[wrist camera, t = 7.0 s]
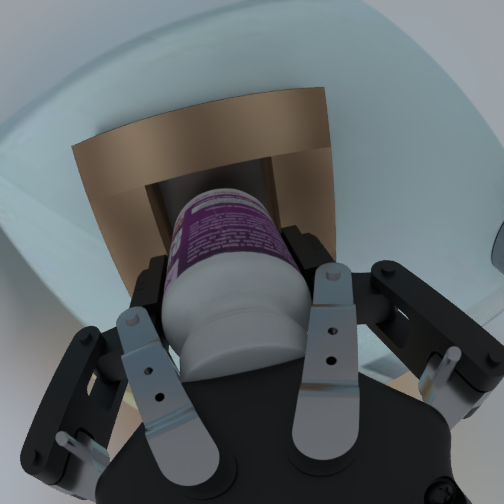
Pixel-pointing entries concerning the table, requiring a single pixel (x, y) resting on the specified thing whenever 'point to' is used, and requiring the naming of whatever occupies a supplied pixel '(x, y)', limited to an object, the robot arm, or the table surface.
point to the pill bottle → (232, 289)
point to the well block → (210, 170)
